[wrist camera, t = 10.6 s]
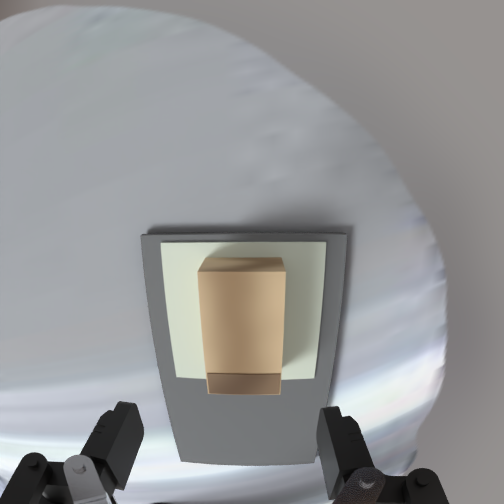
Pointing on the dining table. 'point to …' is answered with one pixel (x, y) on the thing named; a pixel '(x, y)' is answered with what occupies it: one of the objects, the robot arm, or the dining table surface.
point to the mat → (294, 346)
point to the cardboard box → (242, 324)
